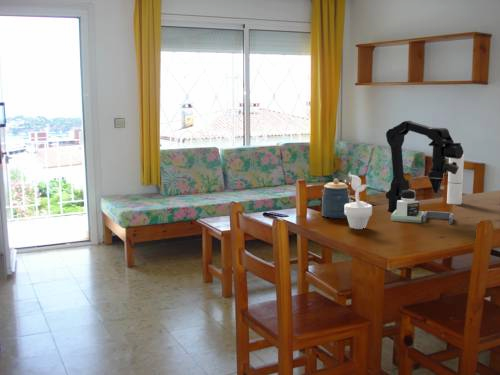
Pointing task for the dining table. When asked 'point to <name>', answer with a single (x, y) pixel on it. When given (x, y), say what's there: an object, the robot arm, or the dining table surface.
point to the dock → (438, 215)
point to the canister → (335, 199)
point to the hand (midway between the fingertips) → (437, 191)
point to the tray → (407, 217)
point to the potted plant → (357, 206)
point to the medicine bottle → (408, 204)
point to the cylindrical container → (455, 182)
